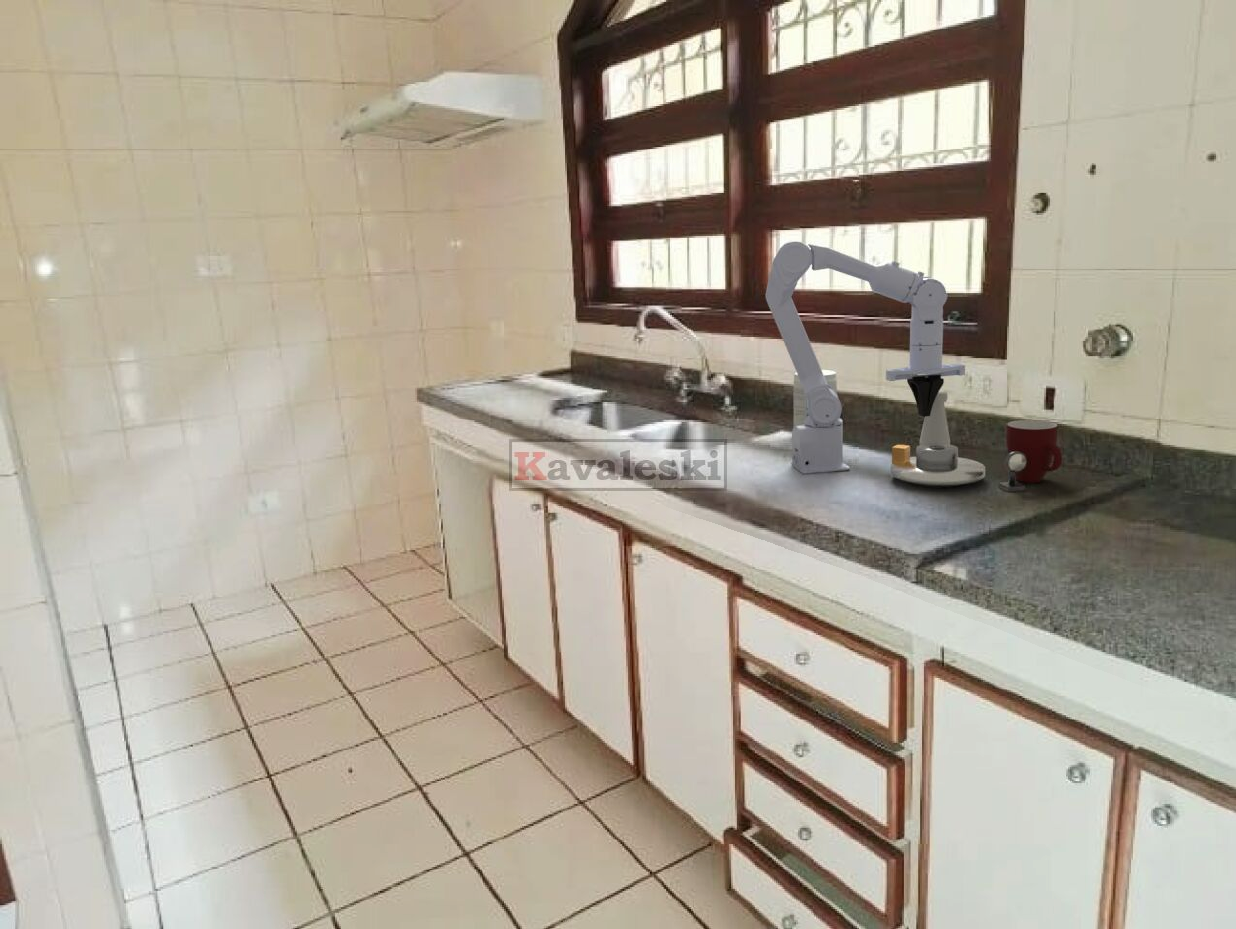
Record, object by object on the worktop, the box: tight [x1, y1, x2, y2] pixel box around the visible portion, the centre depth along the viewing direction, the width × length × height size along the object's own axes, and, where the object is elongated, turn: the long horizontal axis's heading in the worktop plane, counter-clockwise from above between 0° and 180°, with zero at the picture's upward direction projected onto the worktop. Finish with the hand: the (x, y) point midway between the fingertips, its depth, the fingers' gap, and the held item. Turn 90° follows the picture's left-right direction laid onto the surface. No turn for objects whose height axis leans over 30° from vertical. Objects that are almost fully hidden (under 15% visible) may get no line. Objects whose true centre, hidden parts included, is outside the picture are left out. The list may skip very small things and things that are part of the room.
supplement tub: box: [793, 369, 838, 428], centre depth 190 cm, size 10×10×15 cm
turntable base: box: [912, 483, 964, 489], centre depth 152 cm, size 10×10×1 cm
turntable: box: [890, 444, 986, 485], centre depth 151 cm, size 16×16×4 cm
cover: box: [915, 444, 959, 472], centre depth 151 cm, size 7×7×4 cm
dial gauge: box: [998, 451, 1027, 493], centre depth 143 cm, size 4×3×7 cm
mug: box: [1005, 419, 1063, 484], centre depth 146 cm, size 11×8×10 cm
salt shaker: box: [919, 389, 951, 445], centre depth 168 cm, size 6×6×13 cm
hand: (924, 415), depth 159 cm, fingers closed
